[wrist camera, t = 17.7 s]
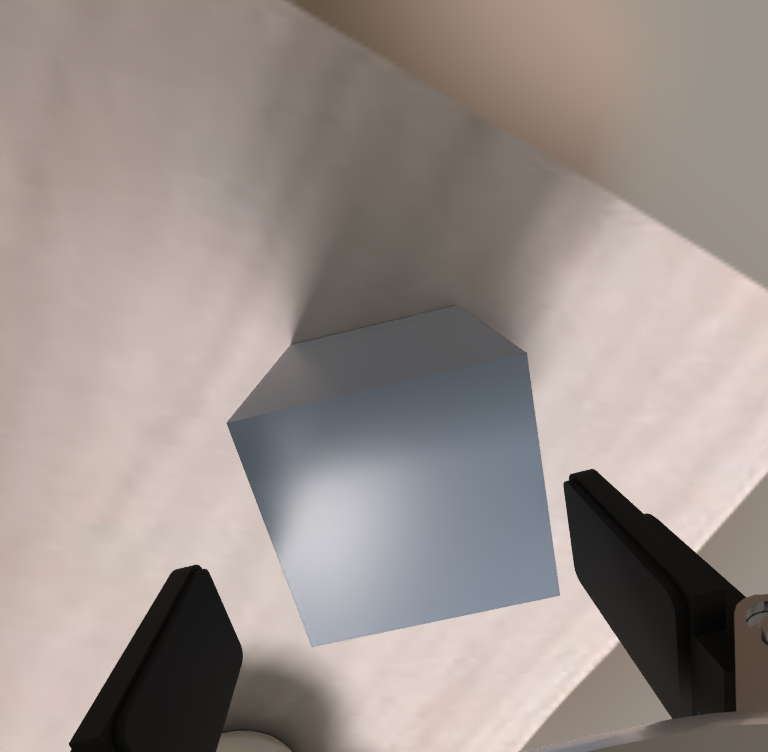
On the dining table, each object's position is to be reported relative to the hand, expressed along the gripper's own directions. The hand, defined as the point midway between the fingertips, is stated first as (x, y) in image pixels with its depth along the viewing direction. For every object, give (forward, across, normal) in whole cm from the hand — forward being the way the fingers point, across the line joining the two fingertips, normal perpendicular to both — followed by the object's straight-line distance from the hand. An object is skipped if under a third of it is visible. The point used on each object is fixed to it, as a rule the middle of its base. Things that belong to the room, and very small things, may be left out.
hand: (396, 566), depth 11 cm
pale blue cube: (+10, -1, -1) cm, 10 cm away
